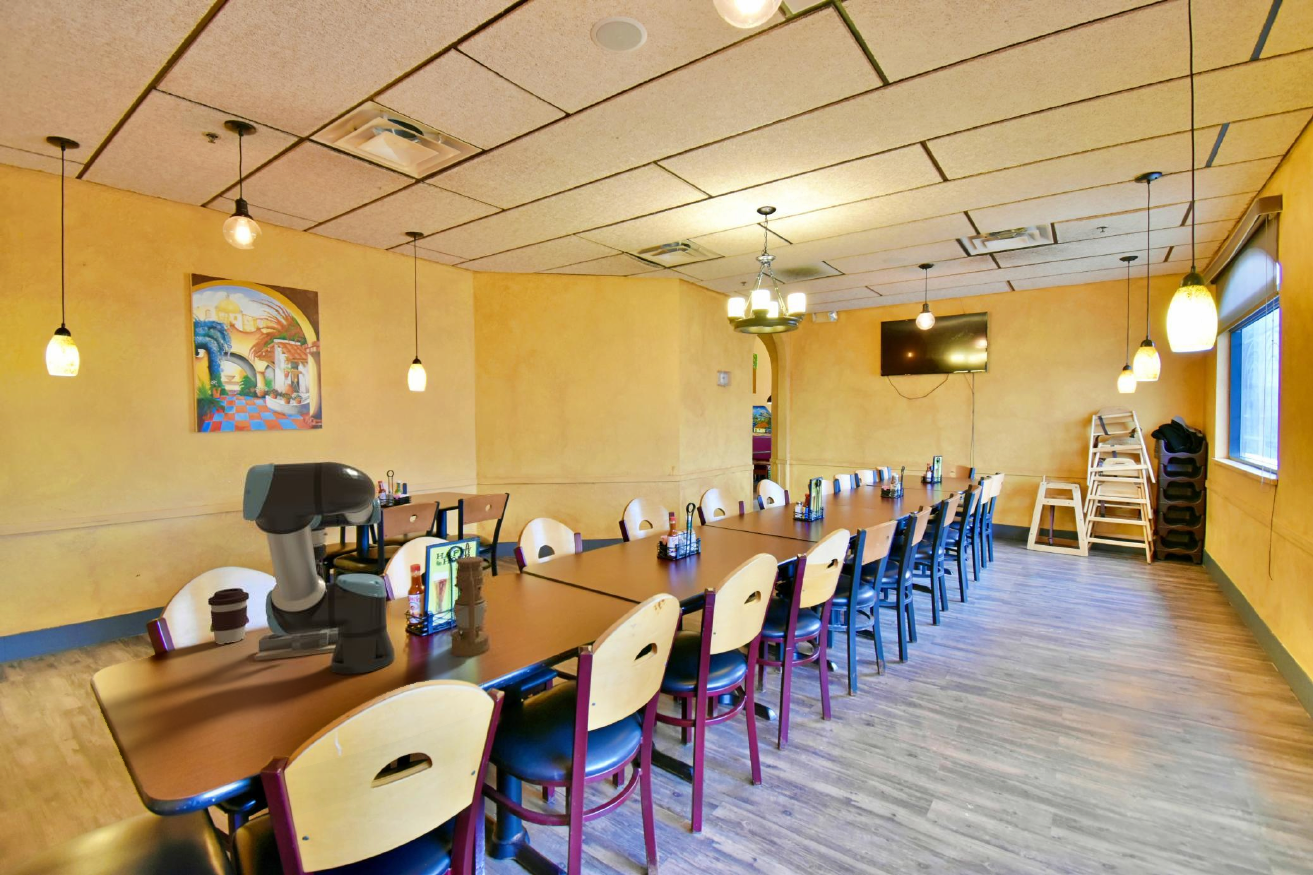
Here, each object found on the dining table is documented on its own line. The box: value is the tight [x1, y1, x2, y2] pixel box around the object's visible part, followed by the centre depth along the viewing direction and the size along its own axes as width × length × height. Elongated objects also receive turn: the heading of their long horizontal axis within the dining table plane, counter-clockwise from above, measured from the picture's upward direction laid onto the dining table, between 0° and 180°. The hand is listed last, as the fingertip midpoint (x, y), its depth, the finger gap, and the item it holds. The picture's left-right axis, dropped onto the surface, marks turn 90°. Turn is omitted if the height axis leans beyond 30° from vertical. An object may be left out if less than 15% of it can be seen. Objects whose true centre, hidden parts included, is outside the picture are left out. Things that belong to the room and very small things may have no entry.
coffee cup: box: [207, 587, 250, 643], centre depth 181 cm, size 10×10×15 cm
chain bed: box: [254, 628, 338, 662], centre depth 173 cm, size 12×26×5 cm, turn 107°
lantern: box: [450, 542, 491, 658], centre depth 169 cm, size 15×10×30 cm
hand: (313, 620), depth 173 cm, fingers open, 12 cm apart
